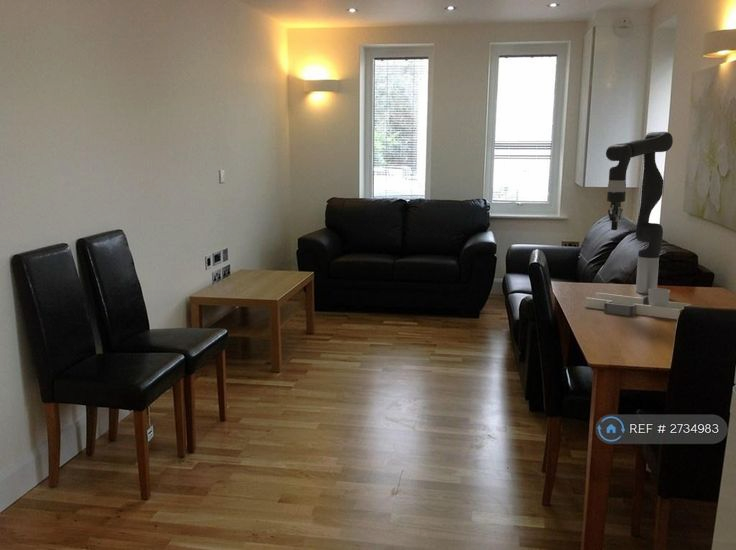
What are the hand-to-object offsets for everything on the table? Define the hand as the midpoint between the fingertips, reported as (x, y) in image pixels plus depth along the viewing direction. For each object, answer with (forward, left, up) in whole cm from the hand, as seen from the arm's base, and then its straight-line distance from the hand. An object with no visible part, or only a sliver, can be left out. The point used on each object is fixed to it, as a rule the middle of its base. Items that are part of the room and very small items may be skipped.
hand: (614, 229), depth 287 cm
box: (+13, +15, -32) cm, 38 cm away
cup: (+15, +24, -32) cm, 43 cm away
